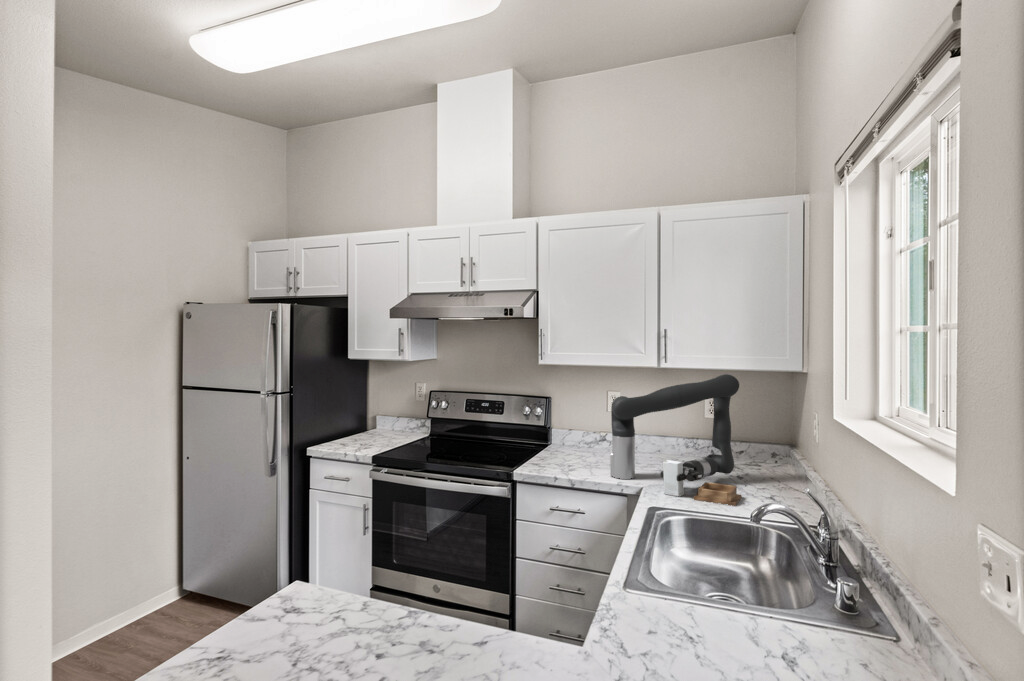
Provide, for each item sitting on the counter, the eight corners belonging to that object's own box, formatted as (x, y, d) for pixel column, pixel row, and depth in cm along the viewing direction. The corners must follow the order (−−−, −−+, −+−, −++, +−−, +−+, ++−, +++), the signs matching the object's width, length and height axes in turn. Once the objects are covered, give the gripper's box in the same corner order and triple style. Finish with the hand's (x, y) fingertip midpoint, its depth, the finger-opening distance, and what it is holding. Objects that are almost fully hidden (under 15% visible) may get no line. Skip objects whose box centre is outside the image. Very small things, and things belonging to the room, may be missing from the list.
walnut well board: (693, 499, 197) (693, 488, 197) (701, 491, 207) (701, 481, 207) (735, 506, 189) (735, 494, 189) (741, 497, 199) (741, 486, 199)
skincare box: (684, 494, 203) (684, 461, 203) (678, 497, 200) (678, 463, 200) (668, 491, 207) (668, 459, 207) (662, 494, 204) (662, 461, 204)
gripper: (680, 456, 218) (653, 462, 208) (712, 463, 207) (686, 469, 196) (680, 475, 218) (653, 482, 208) (712, 483, 207) (686, 490, 196)
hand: (669, 476), depth 202 cm, fingers closed on skincare box, 6 cm apart
